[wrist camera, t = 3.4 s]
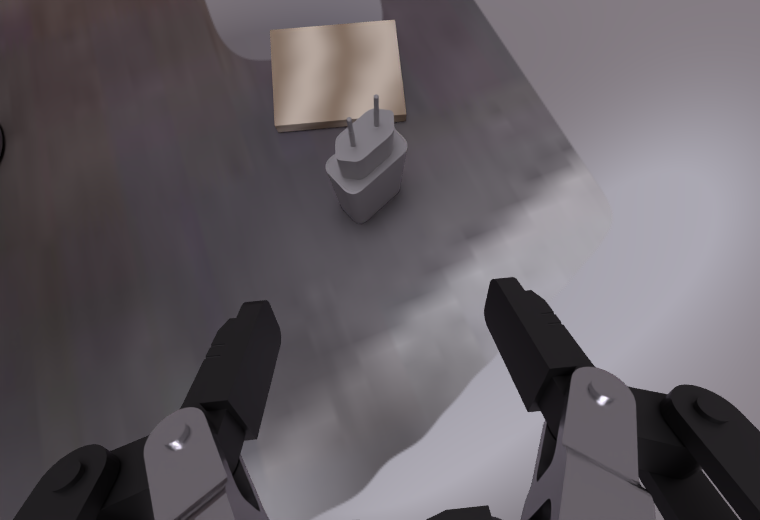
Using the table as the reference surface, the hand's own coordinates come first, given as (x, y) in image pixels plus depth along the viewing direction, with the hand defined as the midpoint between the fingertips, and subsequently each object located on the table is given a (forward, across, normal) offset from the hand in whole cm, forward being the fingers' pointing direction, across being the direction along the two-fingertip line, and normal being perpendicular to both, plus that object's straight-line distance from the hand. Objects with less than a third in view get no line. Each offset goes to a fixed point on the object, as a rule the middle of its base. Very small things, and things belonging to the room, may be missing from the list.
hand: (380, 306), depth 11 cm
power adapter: (+17, 0, +3) cm, 18 cm away
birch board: (+26, +2, -5) cm, 26 cm away
